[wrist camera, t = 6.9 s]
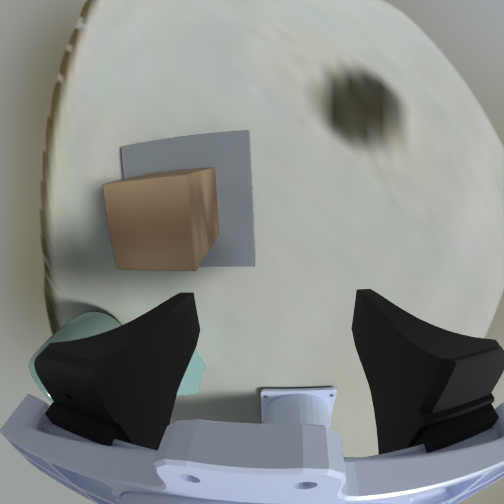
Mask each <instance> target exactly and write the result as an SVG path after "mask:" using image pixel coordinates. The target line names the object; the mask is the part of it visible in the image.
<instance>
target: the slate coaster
mask: <svg viewBox="0 0 504 504" xmlns="http://www.w3.org/2000/svg"><path fill="white" fill-rule="evenodd" d="M121 153H122V165H123V176H124V179H128V178H132V177H136V176H140V175H145V174H149V173H156V172H165V171H175V170H186V169H197V168H211V167H215V173H216V189H217V204H218V219H219V232H220V235H219V237H218V238H217V240H216V241H215V243H214V244H213V246H212V247H211V249H210V250H209V251H208V253H207V254H206V256H205V257H204V259H203V260H202V262H201V263H200V265H199V266H255V240H254V218H253V196H252V174H251V153H250V132H249V130H245V131H230V132H218V133H208V134H198V135H190V136H182V137H174V138H167V139H161V140H155V141H149V142H143V143H137V144H132V145H127V146H122V147H121Z"/></svg>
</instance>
